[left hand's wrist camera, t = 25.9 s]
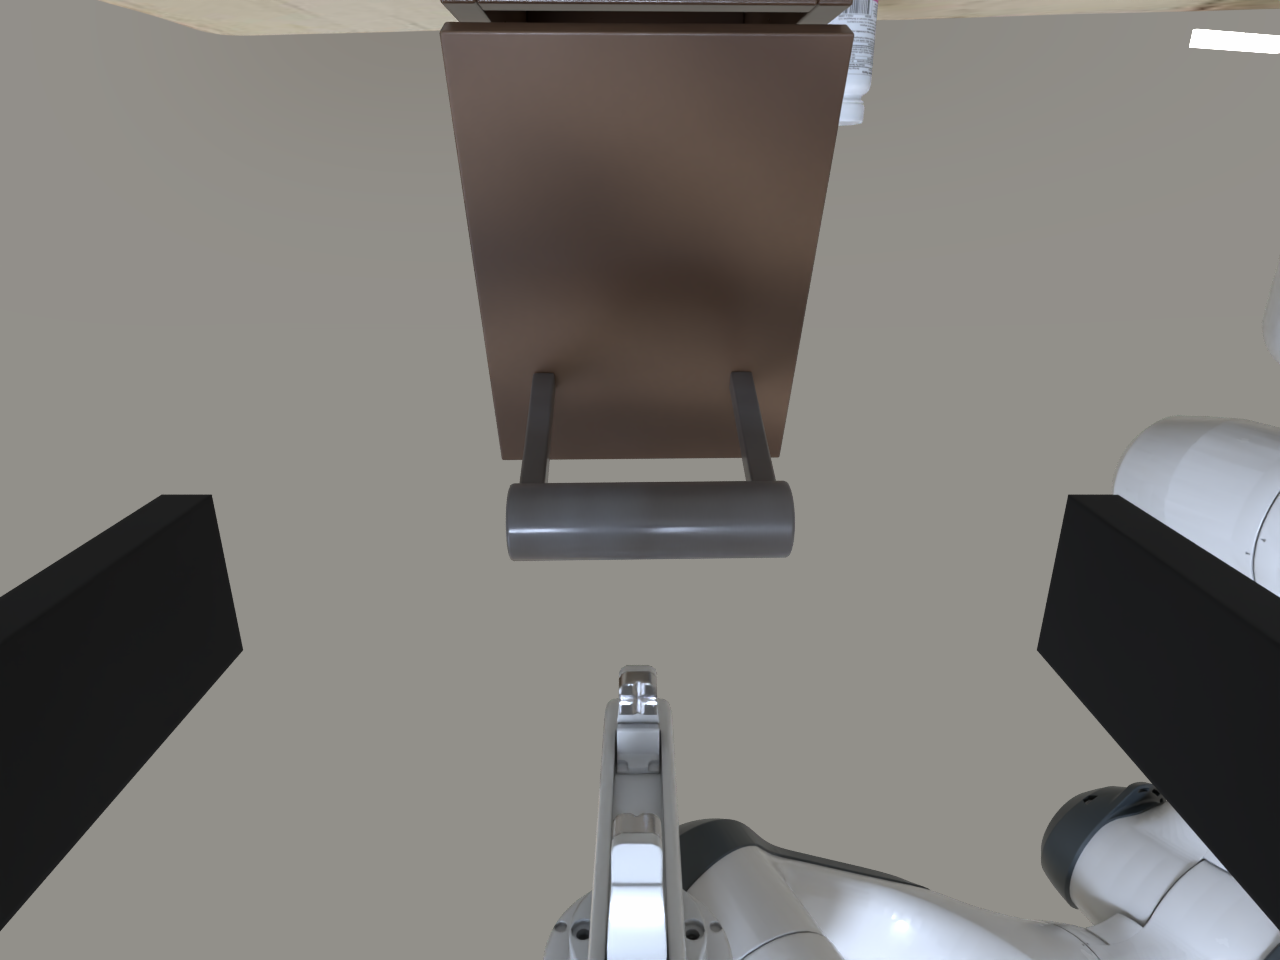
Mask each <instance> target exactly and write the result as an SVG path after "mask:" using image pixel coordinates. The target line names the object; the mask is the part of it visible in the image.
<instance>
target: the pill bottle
mask: <svg viewBox="0 0 1280 960" xmlns="http://www.w3.org/2000/svg"><path fill="white" fill-rule="evenodd" d="M877 9H878V0H853V4H852V5H851V6H850V7H849V8H848V9H846V10H845V11H844V12H842V13H841V14H840V15H839V16H837V17H836V18H835V19H834V20H832V21H831V22H830V23H828V24H846V25H847V26H848V27H849V28H850V29H851V30H852V32H853V33H854V41H853V46H852V52H851V57H850V63H849V69H848V74H847V80H846V86H845V91H844V97H843V102H842V108H841V114H840V119H839V125H838V126H843V125H855V124H861V123H862V122H863V115H864V105H863V103H864V102H863V101H861V97H862V96H863V95H864V94H866V93H867V92H868V91H869V89H870V86H871V77H872V66H873V54H874V43H875V31H876V20H877Z"/></svg>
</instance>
